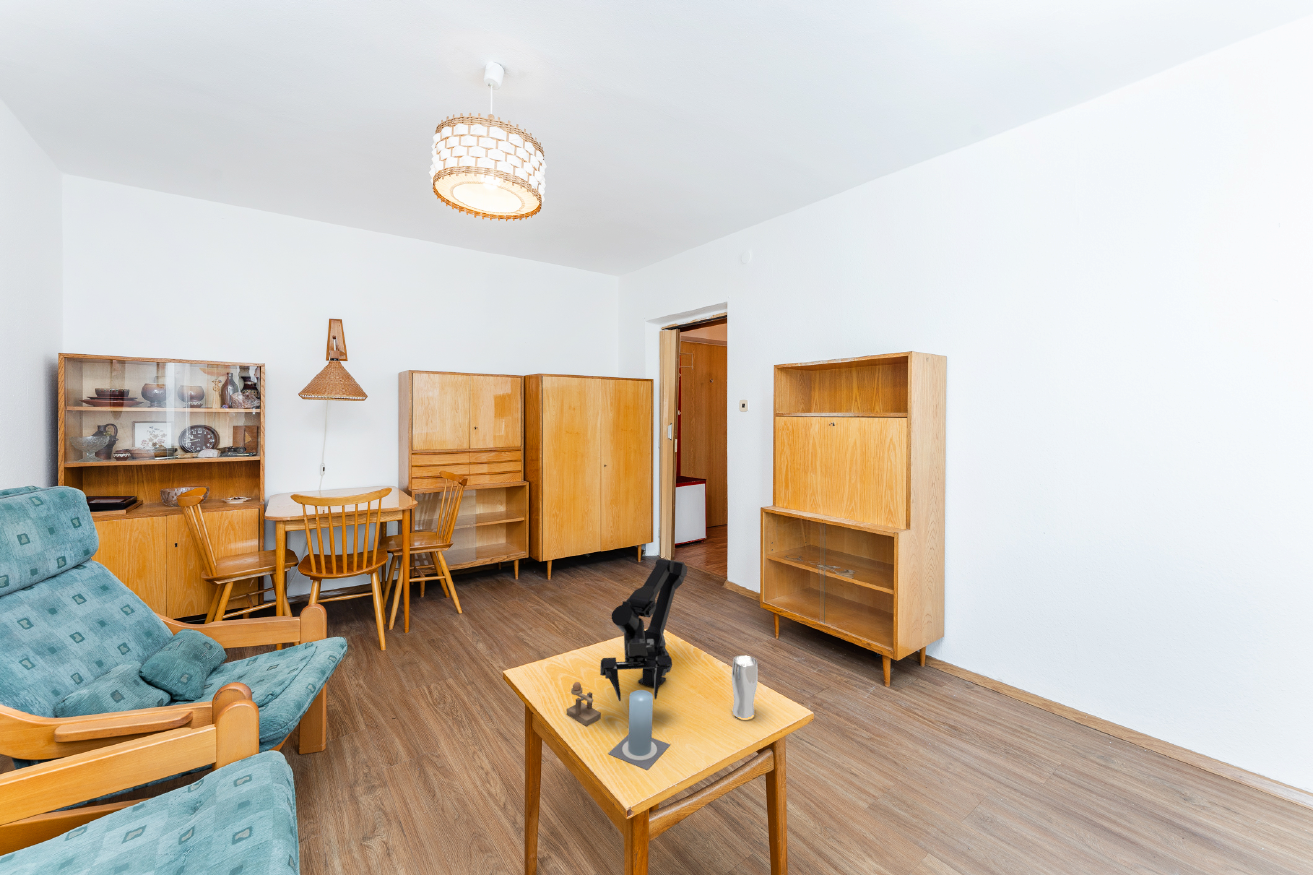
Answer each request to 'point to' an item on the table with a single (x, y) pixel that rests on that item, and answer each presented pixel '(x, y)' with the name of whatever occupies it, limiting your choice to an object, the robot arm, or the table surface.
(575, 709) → the catapult
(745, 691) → the beer glass
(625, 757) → the pad
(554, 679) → the table surface
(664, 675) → the robot arm
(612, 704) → the table surface
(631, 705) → the pale blue capsule
